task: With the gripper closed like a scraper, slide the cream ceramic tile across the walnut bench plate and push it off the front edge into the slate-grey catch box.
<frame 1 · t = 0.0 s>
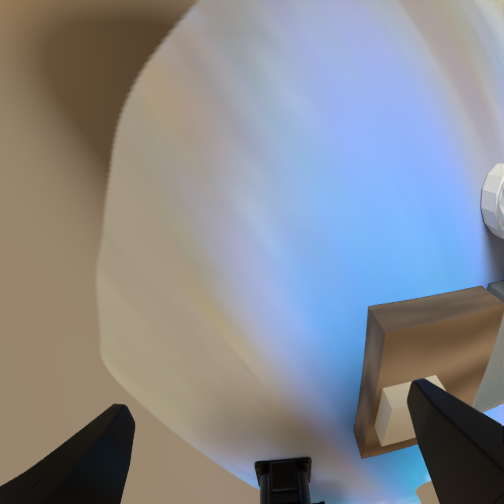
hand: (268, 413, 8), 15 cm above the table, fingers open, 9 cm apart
white cup: (503, 198, 21), on the table
tile: (404, 402, 22), point 4 cm above the table, touching bench plate
bench plate: (417, 367, 26), on the table
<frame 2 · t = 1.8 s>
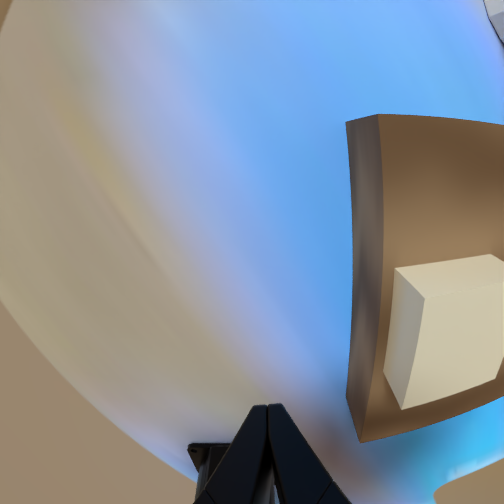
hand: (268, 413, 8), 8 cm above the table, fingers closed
tile: (440, 315, 11), point 4 cm above the table, touching bench plate
bench plate: (449, 271, 15), on the table
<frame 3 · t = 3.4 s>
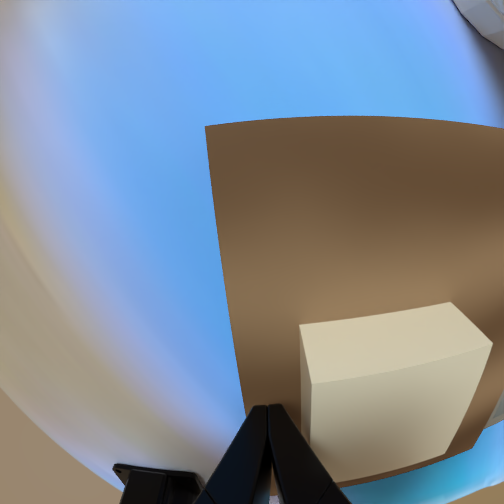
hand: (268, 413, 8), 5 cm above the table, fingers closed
tile: (374, 377, 9), point 4 cm above the table, touching bench plate
bench plate: (380, 314, 13), on the table
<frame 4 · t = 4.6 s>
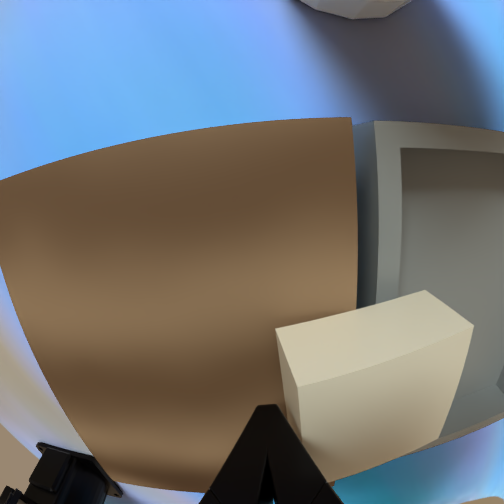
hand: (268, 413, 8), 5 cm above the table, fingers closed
tile: (356, 372, 10), point 4 cm above the table, tilted 9°, touching bench plate, gripper
bench plate: (194, 330, 14), on the table
catch box: (459, 298, 13), on the table
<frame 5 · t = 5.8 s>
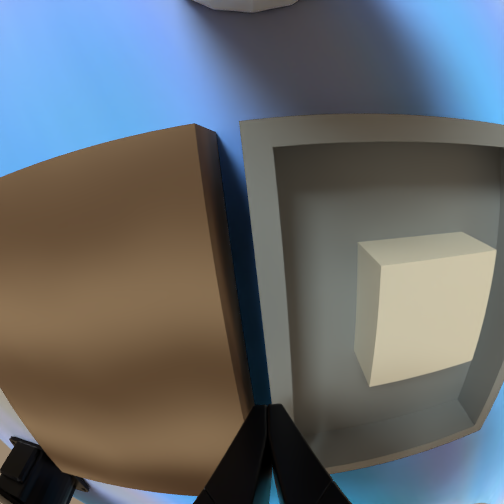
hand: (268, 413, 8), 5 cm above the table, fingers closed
tile: (437, 322, 10), point 3 cm above the table, tilted 180°, touching catch box
bench plate: (116, 334, 13), on the table
catch box: (398, 308, 13), on the table
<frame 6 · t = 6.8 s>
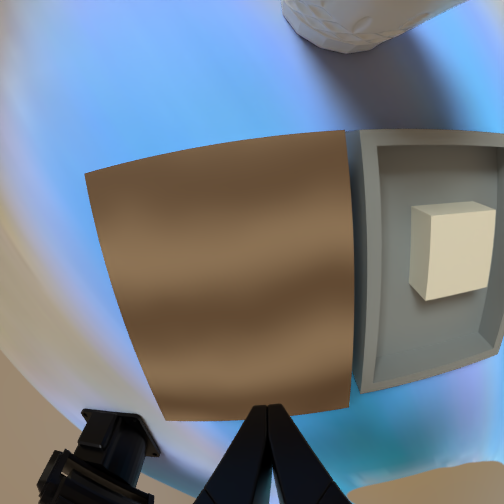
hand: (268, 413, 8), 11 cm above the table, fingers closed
white cup: (336, 7, 14), on the table
tile: (463, 255, 15), point 3 cm above the table, tilted 180°, touching catch box
bench plate: (238, 280, 19), on the table
catch box: (435, 254, 18), on the table
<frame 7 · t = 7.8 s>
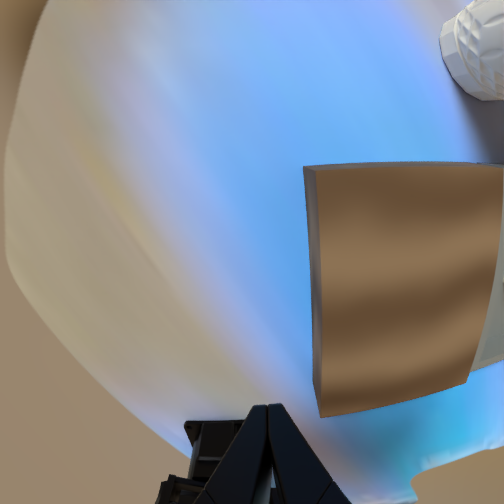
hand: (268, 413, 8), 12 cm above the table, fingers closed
white cup: (472, 58, 15), on the table
bench plate: (394, 280, 20), on the table
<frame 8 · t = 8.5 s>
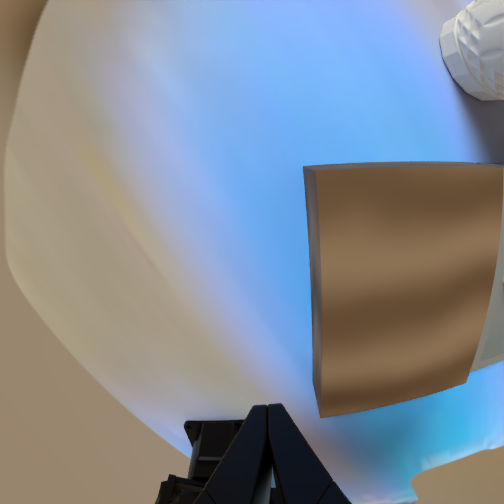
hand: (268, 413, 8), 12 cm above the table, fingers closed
white cup: (472, 58, 15), on the table
bench plate: (394, 280, 20), on the table
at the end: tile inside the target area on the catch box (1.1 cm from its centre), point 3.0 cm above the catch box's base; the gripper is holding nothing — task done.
